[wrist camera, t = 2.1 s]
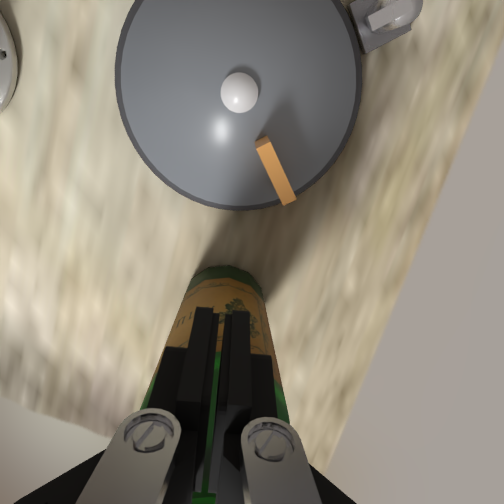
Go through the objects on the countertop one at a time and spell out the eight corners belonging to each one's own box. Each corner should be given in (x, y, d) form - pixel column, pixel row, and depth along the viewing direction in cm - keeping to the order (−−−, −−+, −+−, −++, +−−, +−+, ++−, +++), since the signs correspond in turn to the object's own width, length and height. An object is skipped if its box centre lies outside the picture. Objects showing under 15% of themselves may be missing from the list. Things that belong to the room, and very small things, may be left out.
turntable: (79, 33, 31) (47, 23, 26) (297, -98, 28) (309, -138, 23) (196, 233, 38) (189, 256, 33) (381, 144, 35) (405, 154, 30)
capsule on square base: (393, -20, 32) (426, -43, 26) (407, 31, 33) (442, 19, 27) (339, 10, 33) (360, -7, 27) (355, 58, 34) (379, 52, 28)
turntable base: (70, 30, 33) (62, 27, 31) (301, -110, 29) (304, -120, 28) (194, 239, 40) (192, 245, 39) (388, 147, 37) (394, 149, 36)
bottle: (252, 239, 40) (271, 512, 15) (285, 321, 44) (346, 647, 19) (158, 273, 42) (24, 579, 16) (199, 350, 46) (144, 693, 20)
